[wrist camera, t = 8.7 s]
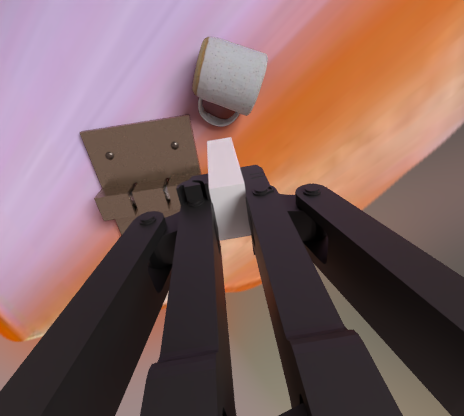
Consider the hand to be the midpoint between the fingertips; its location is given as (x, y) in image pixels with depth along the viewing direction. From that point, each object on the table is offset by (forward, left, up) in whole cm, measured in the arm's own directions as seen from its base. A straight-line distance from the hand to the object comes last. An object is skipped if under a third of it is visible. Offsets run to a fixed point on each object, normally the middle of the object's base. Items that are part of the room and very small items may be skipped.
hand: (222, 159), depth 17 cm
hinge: (+12, -12, -25) cm, 31 cm away
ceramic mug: (-2, +2, -26) cm, 26 cm away
